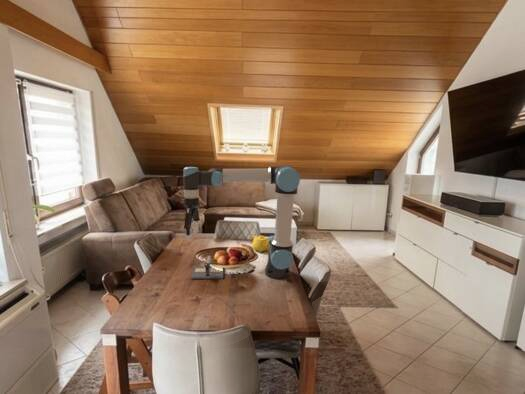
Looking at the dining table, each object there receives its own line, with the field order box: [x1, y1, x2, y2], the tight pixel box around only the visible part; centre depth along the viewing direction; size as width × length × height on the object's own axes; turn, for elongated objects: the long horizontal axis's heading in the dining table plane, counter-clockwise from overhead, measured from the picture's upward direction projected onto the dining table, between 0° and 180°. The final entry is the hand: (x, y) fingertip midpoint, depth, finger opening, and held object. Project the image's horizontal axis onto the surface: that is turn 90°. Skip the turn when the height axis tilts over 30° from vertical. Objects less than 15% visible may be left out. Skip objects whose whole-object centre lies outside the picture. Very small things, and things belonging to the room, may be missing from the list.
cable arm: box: [203, 255, 211, 268], centre depth 179 cm, size 3×14×2 cm, turn 5°
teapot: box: [251, 235, 269, 253], centre depth 218 cm, size 18×11×11 cm, turn 41°
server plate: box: [190, 265, 224, 280], centre depth 180 cm, size 18×14×6 cm
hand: (192, 236), depth 162 cm, fingers open, 13 cm apart
